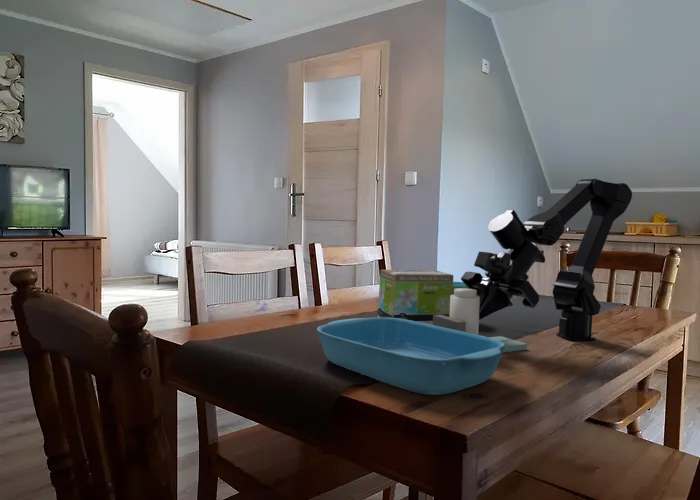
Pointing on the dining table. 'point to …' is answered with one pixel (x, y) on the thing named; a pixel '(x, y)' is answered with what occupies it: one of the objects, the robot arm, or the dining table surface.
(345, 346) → the casserole dish
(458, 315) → the white pill bottle
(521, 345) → the stud rail
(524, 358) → the dining table surface
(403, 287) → the tea box
